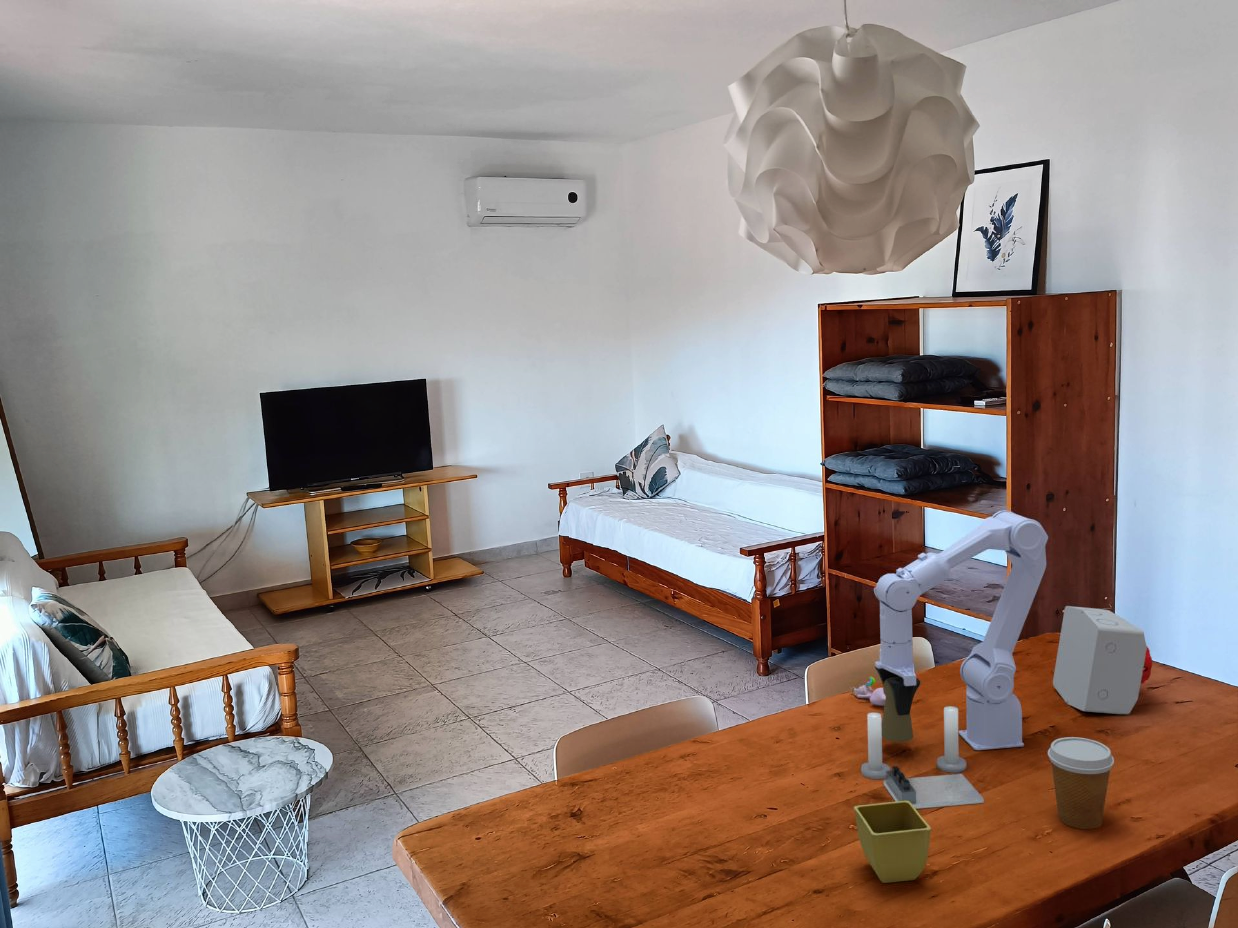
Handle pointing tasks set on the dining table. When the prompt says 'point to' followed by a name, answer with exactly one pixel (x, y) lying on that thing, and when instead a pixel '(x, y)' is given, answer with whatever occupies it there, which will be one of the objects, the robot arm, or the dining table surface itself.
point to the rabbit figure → (870, 693)
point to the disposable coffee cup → (1080, 780)
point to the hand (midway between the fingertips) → (898, 708)
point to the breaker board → (931, 790)
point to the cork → (894, 720)
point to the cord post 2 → (951, 743)
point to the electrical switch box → (1100, 661)
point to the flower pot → (893, 839)
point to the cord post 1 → (874, 749)
